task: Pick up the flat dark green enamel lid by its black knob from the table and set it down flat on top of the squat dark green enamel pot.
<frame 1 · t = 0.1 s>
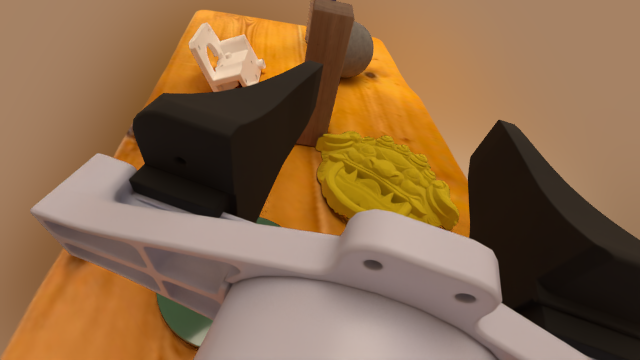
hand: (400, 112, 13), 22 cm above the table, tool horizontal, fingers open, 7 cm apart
wooden block: (309, 129, 48), on the table
mounting bracket: (233, 82, 53), on the table
energy drink: (316, 43, 72), on the table
decorative ball: (340, 75, 63), on the table
door knocker: (376, 189, 41), on the table
lid: (236, 274, 29), point 1 cm above the table
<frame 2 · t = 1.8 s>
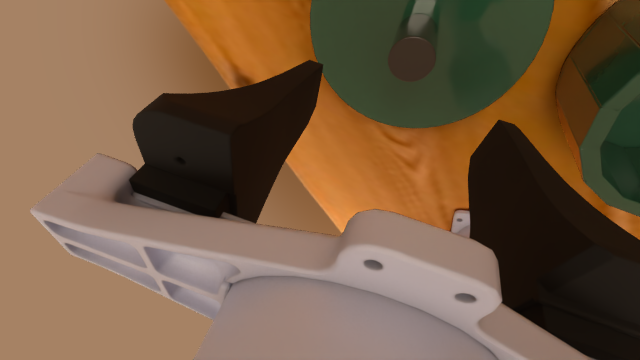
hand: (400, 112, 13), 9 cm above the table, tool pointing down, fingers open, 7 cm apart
lid: (417, 32, 18), point 1 cm above the table
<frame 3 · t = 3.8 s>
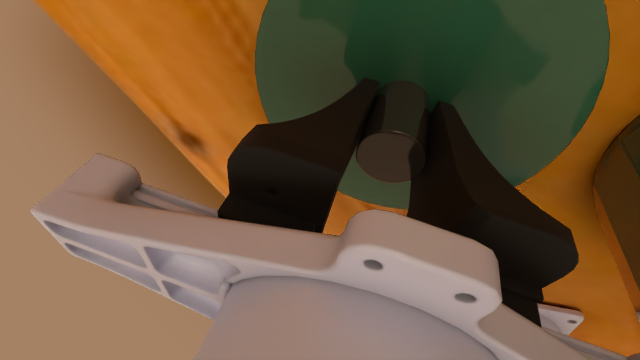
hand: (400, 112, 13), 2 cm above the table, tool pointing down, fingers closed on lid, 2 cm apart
lid: (402, 100, 13), point 1 cm above the table, touching gripper
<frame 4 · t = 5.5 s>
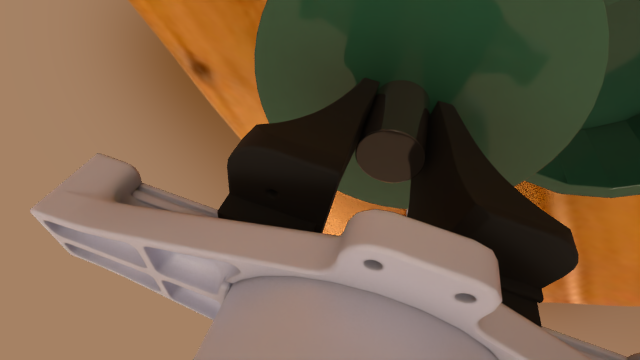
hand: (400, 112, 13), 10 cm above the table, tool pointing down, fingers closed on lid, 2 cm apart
pot: (598, 50, 17), on the table
lid: (401, 99, 13), point 9 cm above the table, touching gripper
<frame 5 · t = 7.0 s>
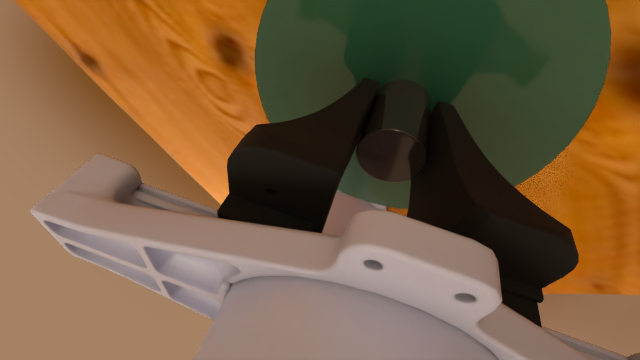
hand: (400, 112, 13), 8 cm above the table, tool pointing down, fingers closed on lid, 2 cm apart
lid: (402, 99, 13), point 7 cm above the table, touching gripper
when the fingers open (7 cm above the table, at t = 7.6 s): lid stays where it is, resting on pot.
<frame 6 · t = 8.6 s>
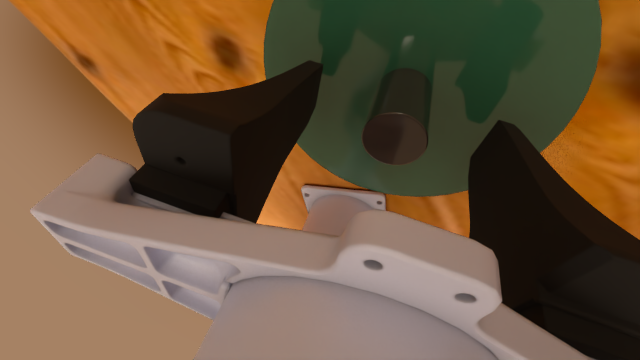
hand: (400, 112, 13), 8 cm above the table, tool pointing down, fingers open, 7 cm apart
lid: (404, 88, 14), point 6 cm above the table, touching pot
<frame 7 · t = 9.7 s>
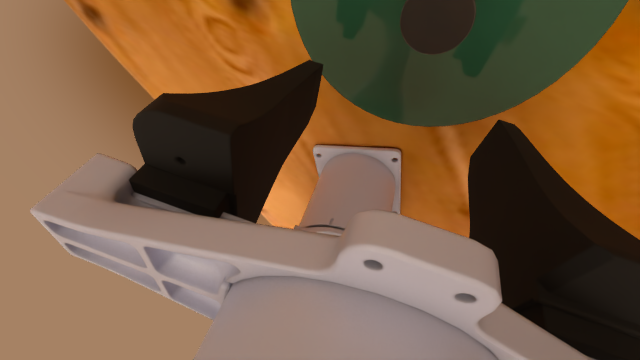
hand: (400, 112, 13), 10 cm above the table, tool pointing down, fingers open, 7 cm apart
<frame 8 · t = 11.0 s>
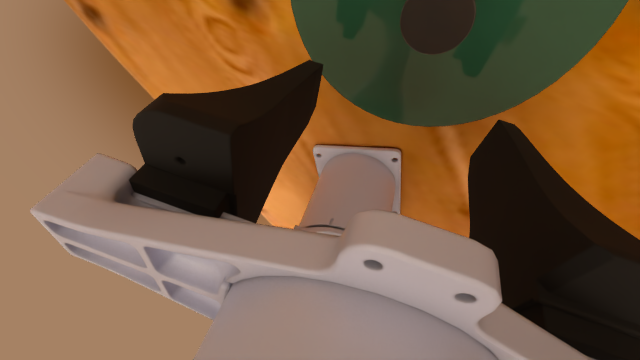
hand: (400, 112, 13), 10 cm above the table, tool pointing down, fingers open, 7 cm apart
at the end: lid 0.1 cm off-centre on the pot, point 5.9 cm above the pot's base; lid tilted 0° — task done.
